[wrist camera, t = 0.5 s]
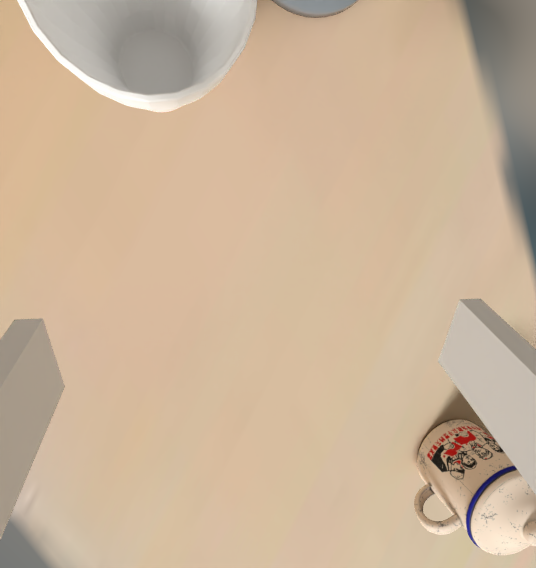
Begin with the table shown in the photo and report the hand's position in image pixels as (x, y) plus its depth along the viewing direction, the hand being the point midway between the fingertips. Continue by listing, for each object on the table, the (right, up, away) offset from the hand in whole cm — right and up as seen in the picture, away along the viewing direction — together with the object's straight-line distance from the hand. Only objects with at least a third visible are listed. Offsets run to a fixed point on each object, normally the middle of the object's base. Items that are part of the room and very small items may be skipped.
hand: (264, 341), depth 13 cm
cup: (-8, +18, +17) cm, 26 cm away
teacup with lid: (+19, -18, +31) cm, 41 cm away
